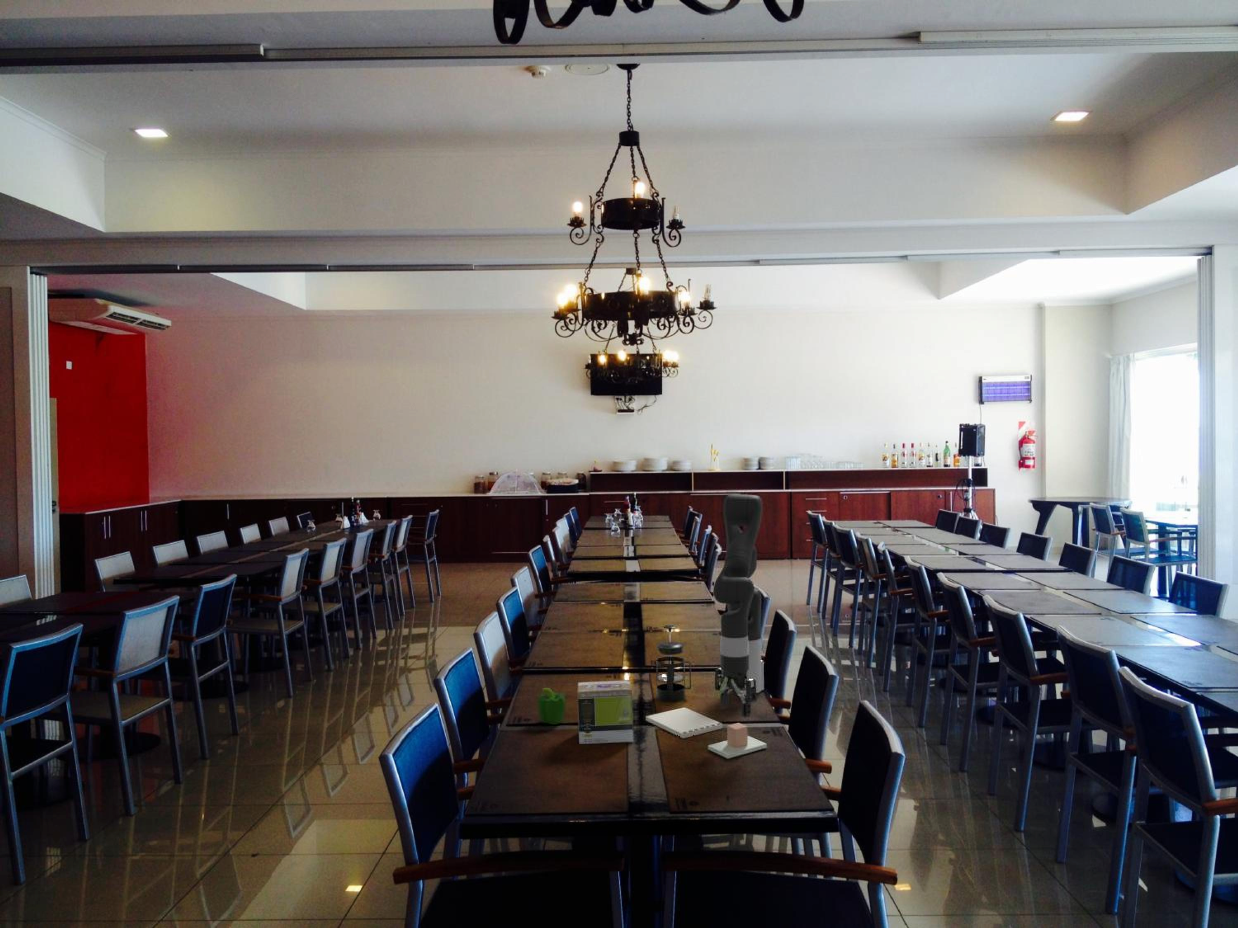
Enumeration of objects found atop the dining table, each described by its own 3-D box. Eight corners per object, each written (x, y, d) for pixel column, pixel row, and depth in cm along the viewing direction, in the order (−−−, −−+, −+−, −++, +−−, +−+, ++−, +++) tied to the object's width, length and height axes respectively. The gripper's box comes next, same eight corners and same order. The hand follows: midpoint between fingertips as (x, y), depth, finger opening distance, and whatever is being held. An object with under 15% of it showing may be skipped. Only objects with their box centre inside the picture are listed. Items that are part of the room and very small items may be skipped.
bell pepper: (572, 719, 255) (571, 686, 255) (556, 728, 248) (555, 693, 248) (548, 715, 260) (548, 682, 259) (532, 723, 252) (531, 689, 252)
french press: (653, 701, 271) (651, 628, 270) (655, 692, 280) (654, 622, 279) (690, 702, 269) (689, 629, 268) (691, 693, 279) (690, 622, 278)
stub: (708, 749, 229) (707, 726, 229) (746, 738, 237) (746, 716, 236) (727, 758, 223) (727, 735, 222) (766, 747, 230) (766, 725, 230)
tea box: (631, 730, 245) (630, 678, 245) (633, 743, 235) (632, 689, 235) (578, 732, 245) (577, 680, 244) (578, 744, 235) (577, 691, 234)
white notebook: (646, 720, 253) (646, 715, 253) (684, 711, 261) (684, 706, 261) (682, 738, 238) (682, 733, 238) (722, 727, 246) (722, 723, 246)
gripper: (763, 655, 225) (764, 716, 226) (728, 643, 237) (729, 702, 238) (741, 660, 221) (742, 722, 222) (706, 648, 233) (707, 707, 234)
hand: (735, 711), depth 230 cm, fingers open, 8 cm apart
